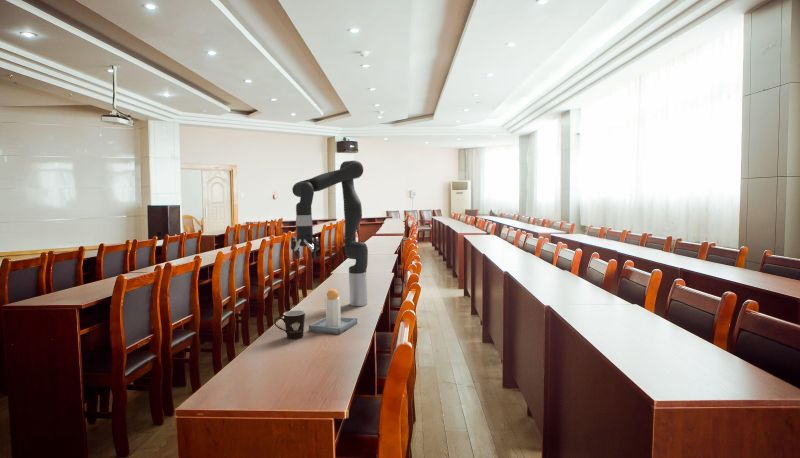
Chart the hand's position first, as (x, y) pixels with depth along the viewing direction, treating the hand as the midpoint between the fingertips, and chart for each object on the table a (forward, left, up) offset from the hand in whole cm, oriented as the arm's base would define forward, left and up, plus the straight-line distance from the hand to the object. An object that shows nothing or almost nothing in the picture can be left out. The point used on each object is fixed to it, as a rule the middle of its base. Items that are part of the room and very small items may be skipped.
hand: (305, 259), depth 208 cm
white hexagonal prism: (+10, +20, -27) cm, 35 cm away
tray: (+10, +20, -28) cm, 36 cm away
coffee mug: (+27, +10, -28) cm, 40 cm away
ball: (+10, +20, -14) cm, 26 cm away
